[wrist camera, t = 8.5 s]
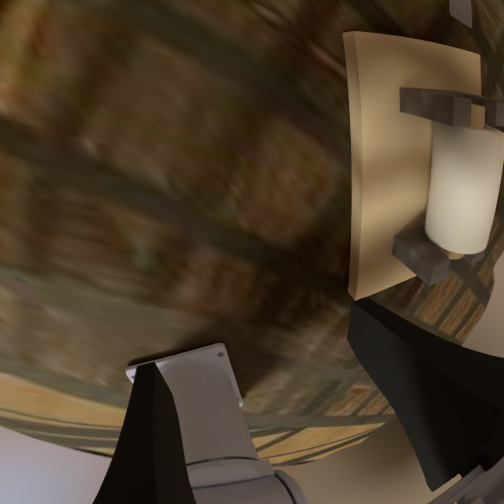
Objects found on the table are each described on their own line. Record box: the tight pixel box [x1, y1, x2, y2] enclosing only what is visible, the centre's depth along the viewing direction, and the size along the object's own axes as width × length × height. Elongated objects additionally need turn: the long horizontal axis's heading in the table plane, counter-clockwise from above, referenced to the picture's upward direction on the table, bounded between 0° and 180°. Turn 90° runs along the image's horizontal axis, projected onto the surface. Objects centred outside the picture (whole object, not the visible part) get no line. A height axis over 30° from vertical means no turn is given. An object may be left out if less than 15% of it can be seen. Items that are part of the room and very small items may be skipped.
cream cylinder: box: [424, 103, 504, 259], centre depth 17 cm, size 11×5×5 cm
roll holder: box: [342, 31, 504, 301], centre depth 18 cm, size 19×13×6 cm
